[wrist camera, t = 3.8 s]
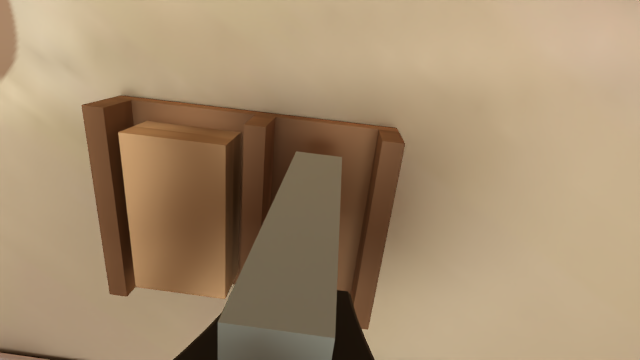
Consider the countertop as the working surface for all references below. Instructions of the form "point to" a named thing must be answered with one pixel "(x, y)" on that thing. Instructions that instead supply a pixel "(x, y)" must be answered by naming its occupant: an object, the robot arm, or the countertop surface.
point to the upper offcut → (179, 209)
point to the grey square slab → (290, 271)
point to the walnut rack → (258, 181)
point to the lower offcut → (235, 173)
